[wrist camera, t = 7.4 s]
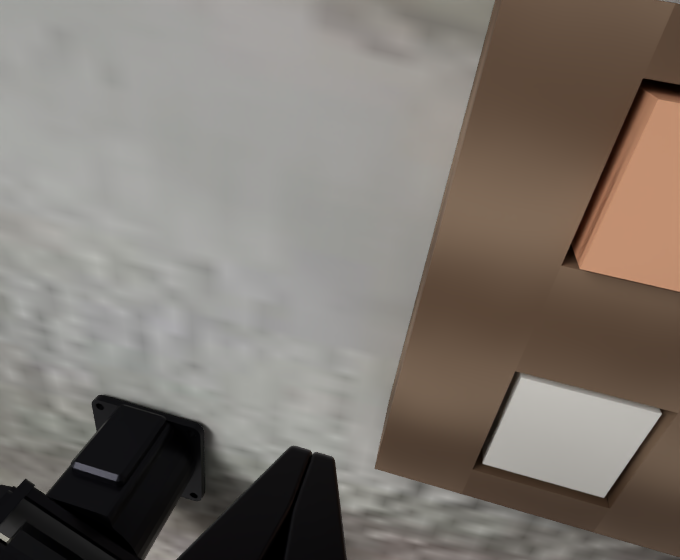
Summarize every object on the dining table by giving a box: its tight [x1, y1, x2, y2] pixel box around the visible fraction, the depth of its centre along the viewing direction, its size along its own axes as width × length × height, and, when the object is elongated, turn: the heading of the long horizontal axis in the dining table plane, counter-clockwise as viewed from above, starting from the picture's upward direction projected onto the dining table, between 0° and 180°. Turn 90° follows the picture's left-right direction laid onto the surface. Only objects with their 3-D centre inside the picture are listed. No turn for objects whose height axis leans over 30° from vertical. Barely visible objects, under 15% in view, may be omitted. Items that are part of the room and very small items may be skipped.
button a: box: [482, 371, 662, 498], centre depth 19 cm, size 4×4×4 cm
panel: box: [375, 0, 680, 557], centre depth 17 cm, size 17×12×4 cm
